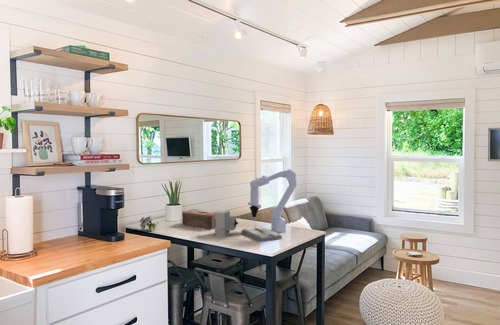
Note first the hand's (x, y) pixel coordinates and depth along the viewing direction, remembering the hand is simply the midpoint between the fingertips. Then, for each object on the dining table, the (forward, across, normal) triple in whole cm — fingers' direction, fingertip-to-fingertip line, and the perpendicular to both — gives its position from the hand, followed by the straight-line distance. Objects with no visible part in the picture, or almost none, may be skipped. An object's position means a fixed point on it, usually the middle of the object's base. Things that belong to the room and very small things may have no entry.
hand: (254, 216), depth 267 cm
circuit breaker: (+10, +2, -22) cm, 24 cm away
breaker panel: (+9, +16, -4) cm, 19 cm away
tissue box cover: (+10, -29, -26) cm, 40 cm away
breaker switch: (+7, +23, -4) cm, 24 cm away
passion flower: (+10, -32, -64) cm, 73 cm away
